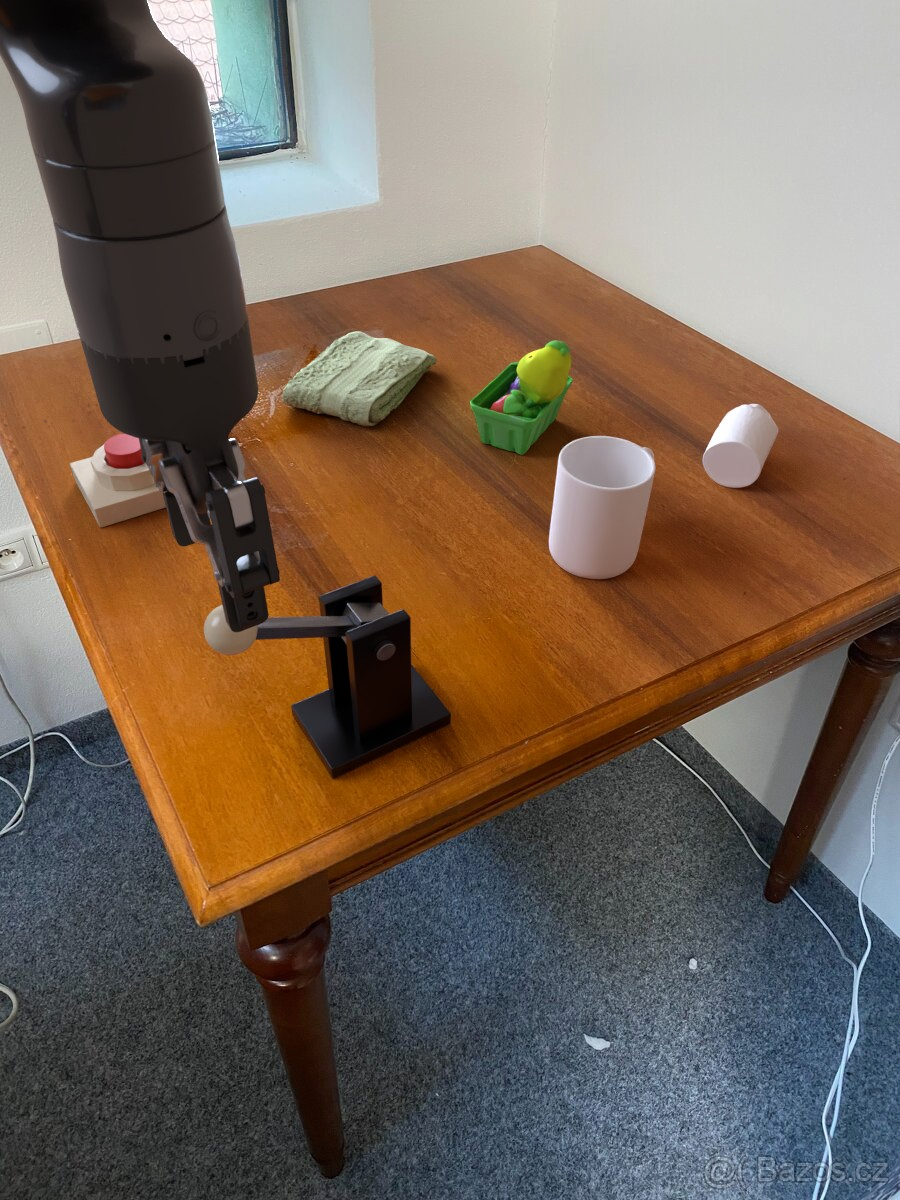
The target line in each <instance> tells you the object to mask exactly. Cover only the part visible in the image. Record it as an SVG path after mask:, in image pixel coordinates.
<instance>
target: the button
mask: <svg viewBox="0 0 900 1200" xmlns="http://www.w3.org/2000/svg"><path fill="white" fill-rule="evenodd" d="M103 445H104V450H105V453H106V457H107V460H108V463H109V465H110V466H111V467H113V468H116V469H130V468H133V467H137V466H140V465H143V464H144V462H143V460H142V457H141V455H142V451H141V446H140V442H139V438H136V437H133V436H130V435H127V434H125V433H123V432H121V433H118V434H115V435H113V436H112V437H109V438H108V439H107V440H106V441H105V442H104V444H103Z"/></svg>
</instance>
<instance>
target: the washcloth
mask: <svg viewBox="0 0 900 1200" xmlns="http://www.w3.org/2000/svg"><path fill="white" fill-rule="evenodd" d="M437 360H438V359H437V358H436V356H435V355H433V354H431V353H428V352H427V351H426V350H424V349H421V348H416V347H413V346H409V345H405V344H402V343H401V342H400V341H396V340H395V339H392V338H389V337H380V338H379V337H373V336H370V335H368V334H366V333H364V332H363V331H359V330H357V331H352V332H348V333H347V334H346V335H342V336H341V337H339V338H336V339H335V340H333V342H332V343H331V344H330V345H329V346H327V347H326V349H324V350H323V351H321V352H320V354H318V355H317V356H316V357H315V359H313V360H311V362H309V364H306V366H305V367H302V368H301V369H300V370H299V372H296V374H295V375H294V376H293V377H292V378H290V379H289V380H288V383H286V385H285V386H284V388H283V389H282V394H281V396H280V398H282V399H281V401H282V402H284V405H286V406H289V407H294V408H296V409H303V410H307V412H308V411H309V412H312V413H315V414H317V415H319V414H320V415H323V414H325V415H327V416H331V417H337V418H340V419H341V421H344V422H345V421H346V422H351V423H352V424H357V425H358V426H361V427H373V426H376V425H377V424H378V423H379V422H381V421H383V420H385V419H386V417H387V416H389V415H390V414H391V412H392V411H393V410H396V409H397V408H398V407H399V406H400V405H401V403H402V402H403V401H404V400H405V398H406V397H407V395H408V394H409V393H410V392H411V390H412V389H413V388H414V387H415V386H416V384H417V383H418V382H419V380H420V379H421V378H422V377H423V375H425V373H427V372H428V370H429V369H430V368H431V367H432V366H434V365H436V364H437Z"/></svg>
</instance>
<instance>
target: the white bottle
mask: <svg viewBox="0 0 900 1200" xmlns="http://www.w3.org/2000/svg"><path fill="white" fill-rule="evenodd" d="M778 434H779V427H778V425H777V424H776V422H775V421H774V419H773V418H772V415H771V414H770V412H769V411H767V409H766V408H764V406H763V405H761V404H759V403H750V404H745V403H744V404H741V405H739V406H737V407H734V408H733V409H731V410H730V411H728V412H727V413H726V414H725V415H724V417H723V418H722V420H721V421H720V423H719V424H718V427H716V430H715V431H714V433H713V434H712V437H711V439H710V441H709V443H708V445H707V447H706V449H705V451H704V453H703V455H702V466H703V469H704V471H705V473H706V474H707V476H708V477H709V478H710V479H711V480H712V481H714V482H715V483H716V484H718V485H720V486H721V487H724V488H725V487H727V488H734V489H739V488H740V489H742V488H745V487H749V486H751V485H753V484H755V482H756V481H757V480H758V478H759V477H760V475H761V472H762V470H763V467H764V465H765V463H766V461H767V458H768V456H769V454H770V452H771V450H772V447H773V446H774V444H775V442H776V440H777V438H778Z"/></svg>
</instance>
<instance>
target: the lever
mask: <svg viewBox="0 0 900 1200" xmlns="http://www.w3.org/2000/svg"><path fill="white" fill-rule="evenodd" d="M389 614H390V613H389V612H388V611H387V609H386V608H385V607H384V605H383V606H382V604H381V603H347V604H346V607H345V609H344V612H343V614H342V616H321V615H319V616H317V615H315V616H268V618H267V620H266V621H265V622H263V623H262V624H259V625H256V626H254V627H251V628H249V629H246V630H243V631H241V632H233V631H232V630H231V629H230V627H229V625H228V624H227V622H226V619H225V614H224V610H223V605H222V604H221V605H220V604H219V605H218V606H217V607H214V609H212V610H211V611H210V612H209V614H208V615H207V616H206V618H205V620H204V624H203V635H204V639H205V641H206V643H207V645H209V647H210V648H211V649H212V650H213V651H214V652H216V653H218V654H220V655H224V656H237V655H241V654H243V653H244V652H246V651H248V650H249V649H250V648H251V647H252V646H253V645H254V643H255V641H260V640H261V641H262V640H265V641H266V640H286V639H287V640H289V639H290V640H291V639H292V640H293V639H314V638H315V639H316V638H318V639H319V638H323V637H341V638H342V639H343V640H344V642H345V643H346V644H347V642H346V632H347V631H350V630H352V629H355V628H357V627H360V626H362V625H365V624H367V623H370V622H372V621H375V620H377V619H380V618H382V617H384V616H387V615H389Z"/></svg>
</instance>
